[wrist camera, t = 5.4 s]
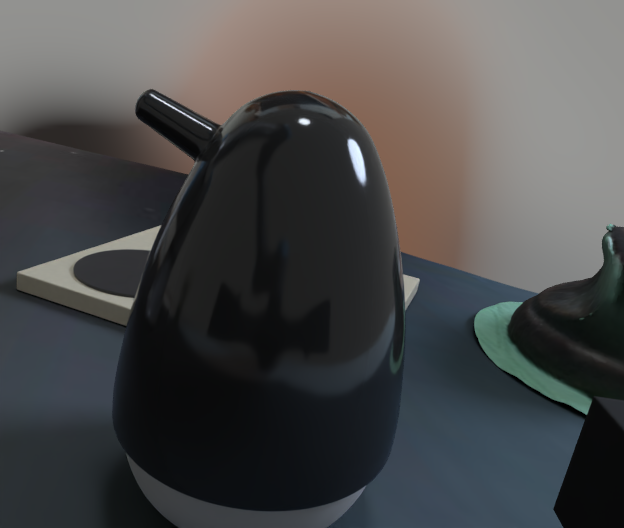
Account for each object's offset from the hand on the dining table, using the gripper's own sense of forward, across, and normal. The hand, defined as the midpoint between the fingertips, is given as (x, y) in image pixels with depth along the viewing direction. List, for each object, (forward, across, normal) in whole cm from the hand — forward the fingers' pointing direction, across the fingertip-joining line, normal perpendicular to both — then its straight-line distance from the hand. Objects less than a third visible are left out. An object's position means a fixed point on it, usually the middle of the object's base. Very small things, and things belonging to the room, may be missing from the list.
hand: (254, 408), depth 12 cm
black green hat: (+27, +24, -10) cm, 37 cm away
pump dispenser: (+9, 0, -10) cm, 13 cm away
